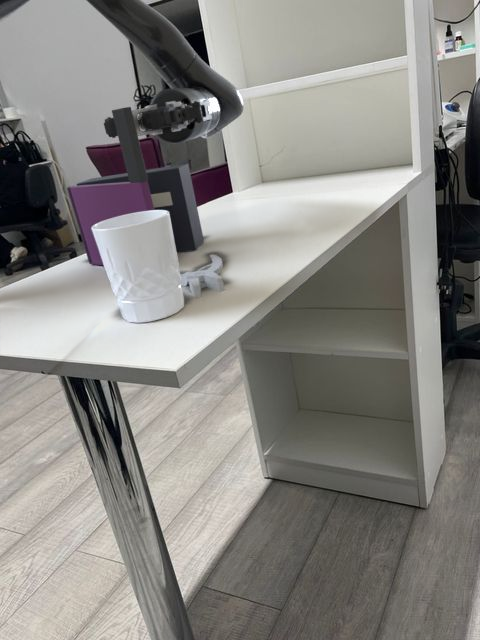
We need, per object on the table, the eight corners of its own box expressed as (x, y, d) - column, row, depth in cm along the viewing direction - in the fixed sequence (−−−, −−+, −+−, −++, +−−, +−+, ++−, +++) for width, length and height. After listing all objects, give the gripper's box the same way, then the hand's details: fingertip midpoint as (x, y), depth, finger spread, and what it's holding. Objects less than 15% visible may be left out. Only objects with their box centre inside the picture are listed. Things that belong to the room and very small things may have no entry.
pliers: (213, 247, 75) (249, 270, 62) (215, 258, 75) (251, 283, 62) (143, 265, 72) (165, 292, 59) (146, 276, 73) (168, 306, 60)
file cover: (87, 264, 84) (45, 124, 75) (94, 261, 85) (53, 122, 76) (162, 269, 73) (123, 107, 65) (169, 267, 74) (131, 106, 66)
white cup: (202, 307, 57) (181, 212, 53) (132, 332, 54) (104, 232, 50) (173, 293, 63) (152, 207, 59) (108, 314, 60) (82, 225, 56)
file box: (99, 262, 85) (76, 183, 80) (111, 253, 89) (90, 178, 84) (196, 250, 81) (178, 167, 76) (204, 241, 86) (188, 163, 81)
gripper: (134, 96, 84) (81, 100, 70) (220, 79, 80) (182, 80, 66) (146, 147, 87) (97, 160, 73) (230, 133, 83) (194, 145, 69)
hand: (137, 122), depth 70 cm, fingers open, 8 cm apart
